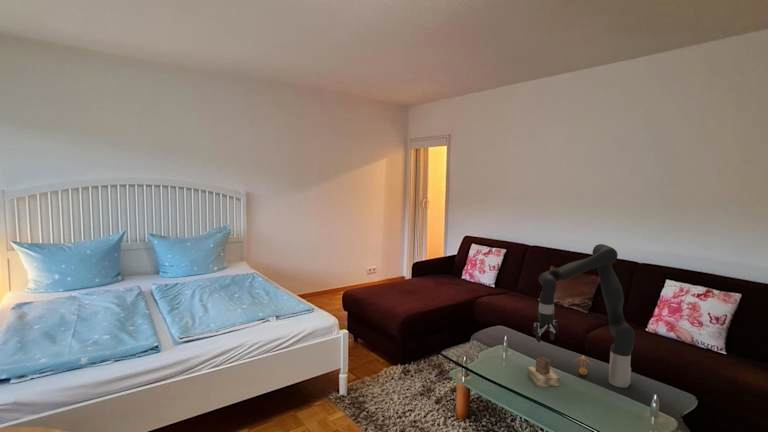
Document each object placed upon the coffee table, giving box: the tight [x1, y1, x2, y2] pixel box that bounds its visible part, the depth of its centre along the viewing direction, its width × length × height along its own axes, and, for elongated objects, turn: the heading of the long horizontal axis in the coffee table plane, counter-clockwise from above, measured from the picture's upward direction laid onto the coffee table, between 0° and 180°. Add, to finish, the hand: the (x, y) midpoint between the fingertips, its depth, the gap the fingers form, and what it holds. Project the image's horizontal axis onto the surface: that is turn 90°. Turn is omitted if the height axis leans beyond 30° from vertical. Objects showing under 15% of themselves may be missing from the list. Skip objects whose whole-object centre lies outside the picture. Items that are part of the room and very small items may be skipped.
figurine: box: [574, 354, 593, 376], centre depth 215 cm, size 8×6×12 cm
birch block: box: [526, 366, 561, 388], centre depth 211 cm, size 12×12×5 cm
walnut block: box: [535, 356, 551, 375], centre depth 210 cm, size 5×5×7 cm
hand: (545, 340), depth 209 cm, fingers open, 8 cm apart
